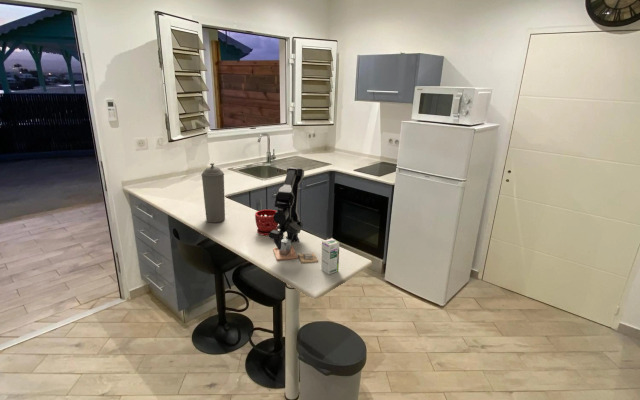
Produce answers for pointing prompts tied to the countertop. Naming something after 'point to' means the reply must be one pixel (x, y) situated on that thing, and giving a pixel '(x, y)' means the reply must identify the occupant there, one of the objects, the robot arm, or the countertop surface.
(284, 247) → the strut
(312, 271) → the countertop surface
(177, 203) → the countertop surface
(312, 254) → the stud base
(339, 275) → the countertop surface
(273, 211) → the plant pot
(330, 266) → the syrup box
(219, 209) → the canister
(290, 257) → the tray
